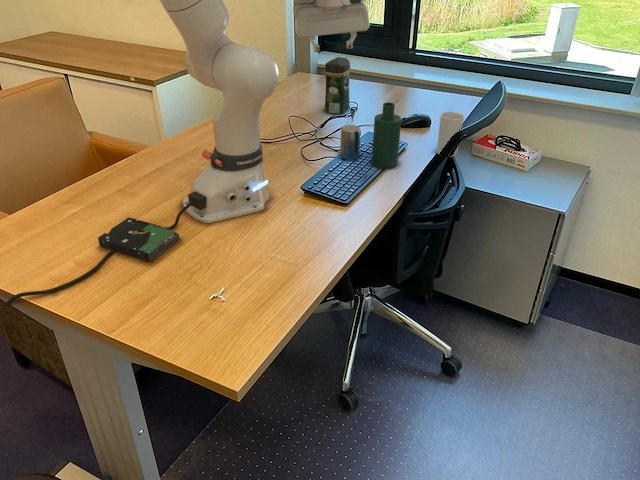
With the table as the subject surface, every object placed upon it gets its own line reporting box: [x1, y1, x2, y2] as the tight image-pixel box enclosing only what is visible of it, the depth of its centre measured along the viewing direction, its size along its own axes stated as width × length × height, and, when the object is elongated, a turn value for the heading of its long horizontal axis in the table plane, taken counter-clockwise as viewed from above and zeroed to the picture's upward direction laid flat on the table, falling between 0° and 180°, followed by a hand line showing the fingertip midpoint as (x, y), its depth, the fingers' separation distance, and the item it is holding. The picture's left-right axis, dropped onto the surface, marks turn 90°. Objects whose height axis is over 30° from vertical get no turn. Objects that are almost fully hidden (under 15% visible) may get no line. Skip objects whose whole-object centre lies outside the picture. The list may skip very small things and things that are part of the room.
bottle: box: [371, 101, 402, 170], centre depth 152 cm, size 8×8×18 cm
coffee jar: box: [324, 56, 351, 115], centre depth 189 cm, size 10×8×19 cm
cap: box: [339, 124, 361, 161], centre depth 158 cm, size 6×6×9 cm
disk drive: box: [97, 216, 180, 263], centre depth 120 cm, size 10×3×15 cm
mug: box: [436, 111, 465, 158], centre depth 161 cm, size 10×7×12 cm, turn 142°
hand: (333, 49), depth 148 cm, fingers open, 8 cm apart
